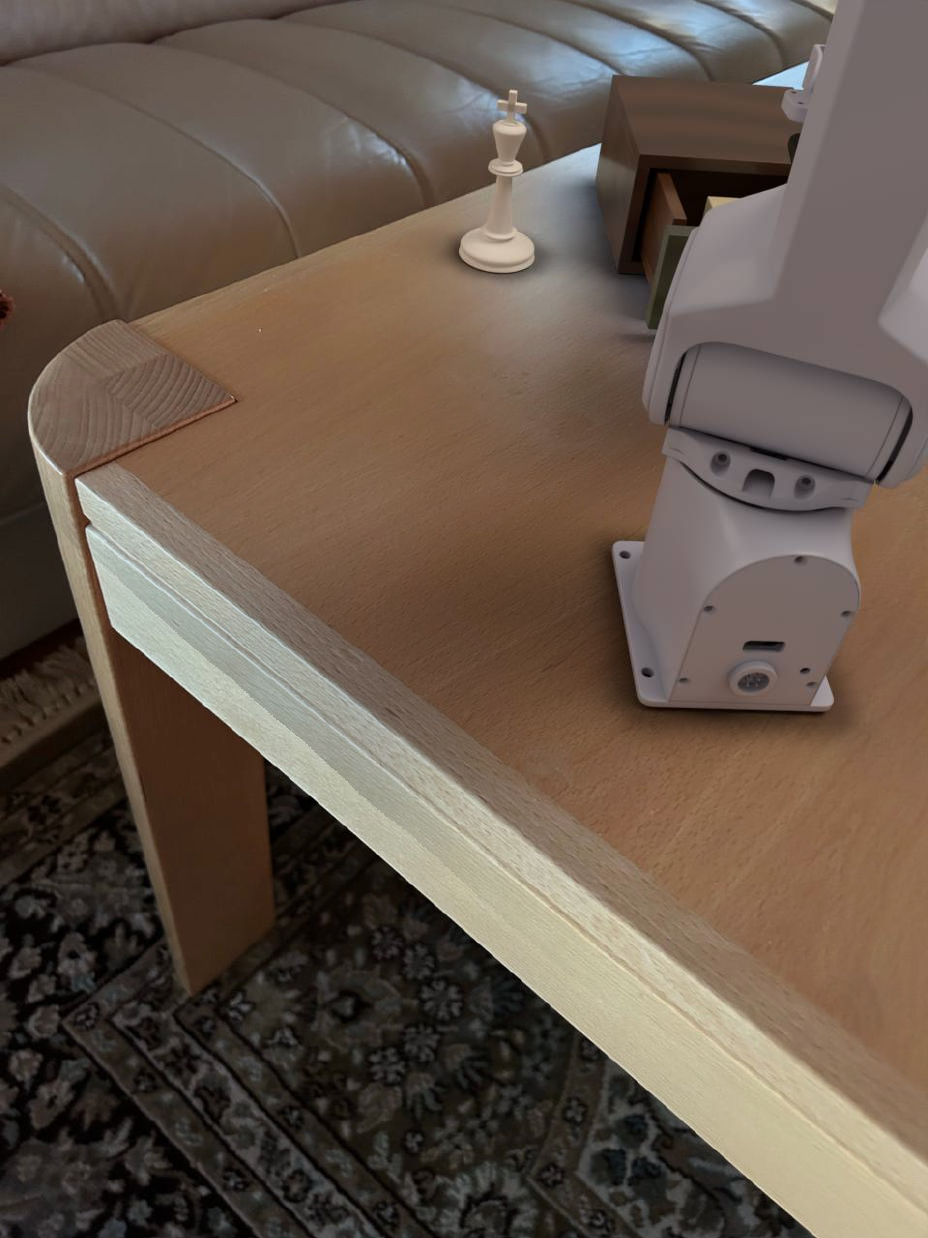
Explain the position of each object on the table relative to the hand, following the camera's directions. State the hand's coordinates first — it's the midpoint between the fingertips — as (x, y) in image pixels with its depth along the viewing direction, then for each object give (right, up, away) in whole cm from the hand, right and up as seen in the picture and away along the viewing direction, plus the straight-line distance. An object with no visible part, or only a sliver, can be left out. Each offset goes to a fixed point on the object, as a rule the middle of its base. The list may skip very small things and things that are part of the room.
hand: (811, 300), depth 50 cm
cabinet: (-1, +11, +21) cm, 24 cm away
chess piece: (-15, +8, +17) cm, 24 cm away
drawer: (-1, +4, +12) cm, 13 cm away
